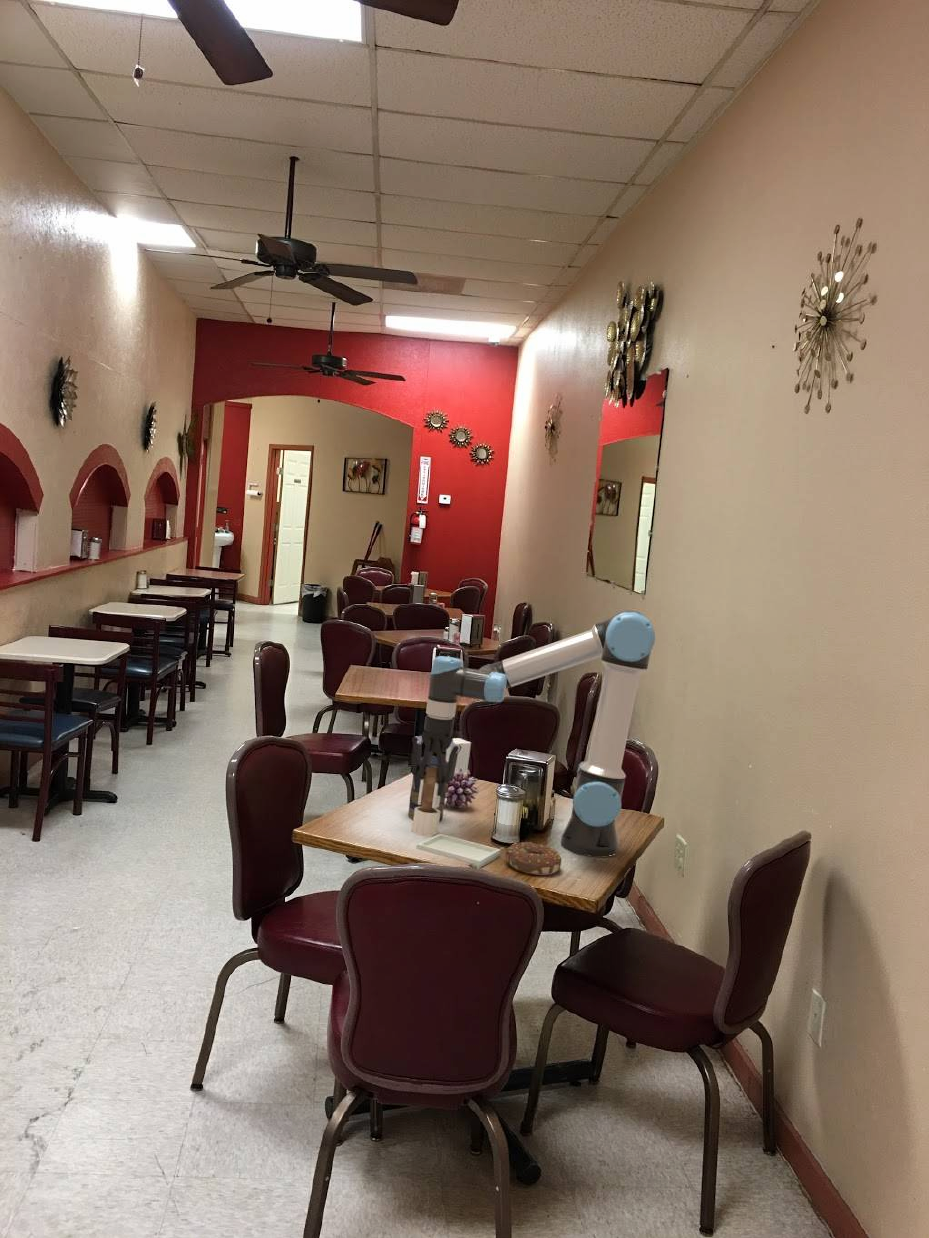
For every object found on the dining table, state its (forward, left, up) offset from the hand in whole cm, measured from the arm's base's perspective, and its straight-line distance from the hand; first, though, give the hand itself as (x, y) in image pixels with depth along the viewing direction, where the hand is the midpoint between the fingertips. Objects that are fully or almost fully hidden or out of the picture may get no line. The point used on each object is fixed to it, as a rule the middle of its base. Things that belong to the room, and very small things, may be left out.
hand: (428, 805), depth 263 cm
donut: (-31, +3, -8) cm, 33 cm away
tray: (-13, +8, -8) cm, 18 cm away
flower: (+6, -32, -8) cm, 34 cm away
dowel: (0, 0, -7) cm, 7 cm away
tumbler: (0, 0, -8) cm, 8 cm away
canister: (+6, -12, -8) cm, 16 cm away
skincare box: (+17, -51, -8) cm, 54 cm away
